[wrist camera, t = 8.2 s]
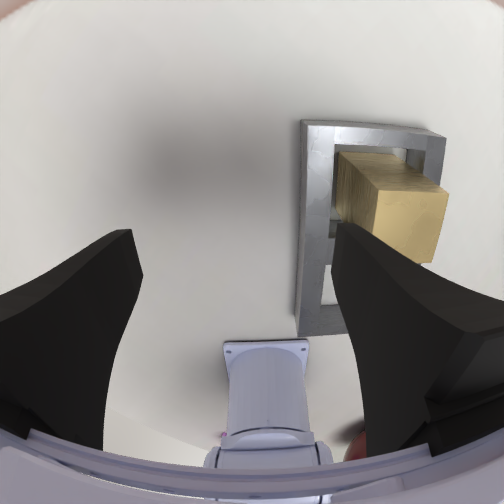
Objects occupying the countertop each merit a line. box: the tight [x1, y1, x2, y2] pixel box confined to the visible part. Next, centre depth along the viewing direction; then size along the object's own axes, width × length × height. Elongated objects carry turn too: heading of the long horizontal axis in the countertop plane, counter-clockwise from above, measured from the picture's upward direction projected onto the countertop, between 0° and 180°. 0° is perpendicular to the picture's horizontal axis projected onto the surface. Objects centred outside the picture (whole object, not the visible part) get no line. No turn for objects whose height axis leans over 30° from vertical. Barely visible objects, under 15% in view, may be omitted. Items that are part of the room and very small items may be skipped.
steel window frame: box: [295, 120, 446, 337], centre depth 20 cm, size 16×9×2 cm, turn 2°
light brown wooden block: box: [335, 152, 449, 263], centre depth 16 cm, size 4×4×7 cm
